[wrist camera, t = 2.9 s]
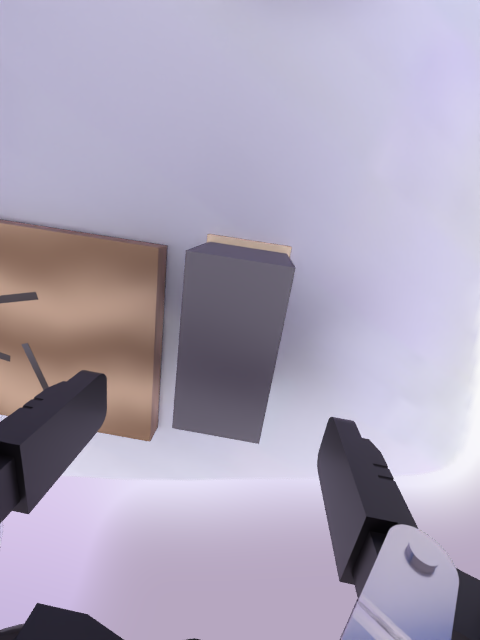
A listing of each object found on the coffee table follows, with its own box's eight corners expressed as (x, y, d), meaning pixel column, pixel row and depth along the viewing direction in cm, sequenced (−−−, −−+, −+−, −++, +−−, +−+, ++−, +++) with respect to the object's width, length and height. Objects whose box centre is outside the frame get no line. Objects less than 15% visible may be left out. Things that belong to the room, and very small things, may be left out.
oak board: (-166, 193, 19) (-202, 191, 17) (167, 245, 18) (158, 247, 16) (-108, 380, 23) (-132, 390, 22) (157, 427, 22) (150, 441, 21)
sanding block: (209, 233, 17) (181, 240, 12) (290, 246, 17) (302, 258, 12) (194, 375, 21) (168, 433, 15) (263, 387, 21) (261, 450, 15)
